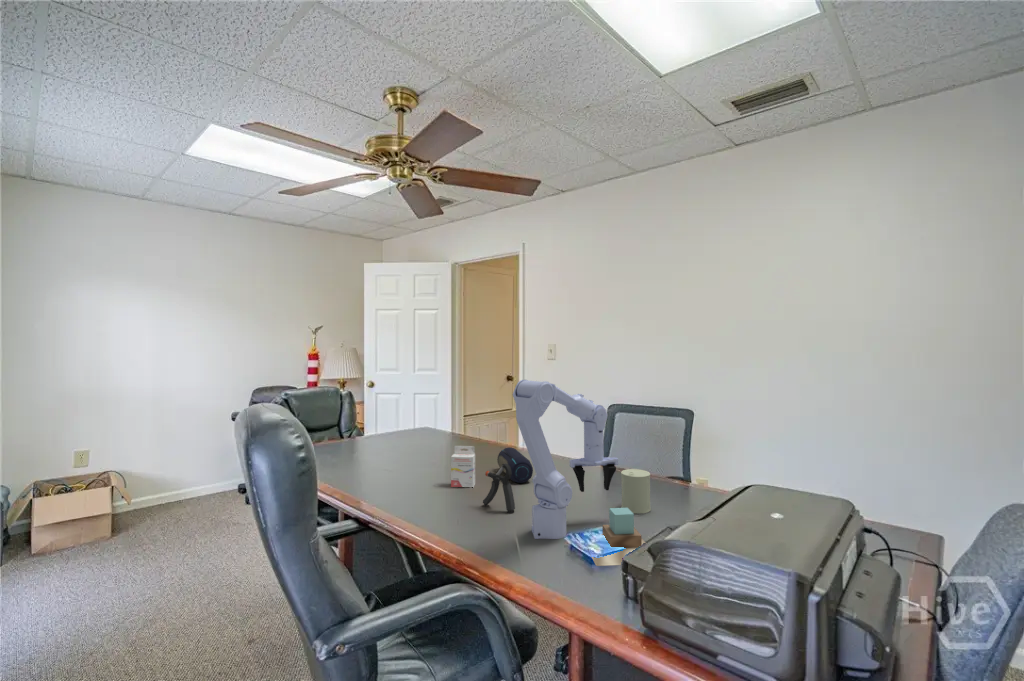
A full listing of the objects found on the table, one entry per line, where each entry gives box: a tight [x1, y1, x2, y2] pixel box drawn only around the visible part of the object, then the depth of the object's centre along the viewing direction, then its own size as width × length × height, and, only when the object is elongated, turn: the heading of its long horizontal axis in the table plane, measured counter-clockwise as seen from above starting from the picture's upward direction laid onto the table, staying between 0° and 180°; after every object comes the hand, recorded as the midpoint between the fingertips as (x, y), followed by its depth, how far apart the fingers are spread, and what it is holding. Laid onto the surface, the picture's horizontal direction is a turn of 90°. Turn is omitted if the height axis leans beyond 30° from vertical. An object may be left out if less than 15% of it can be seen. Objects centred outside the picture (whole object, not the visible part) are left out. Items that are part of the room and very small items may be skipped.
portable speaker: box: [496, 447, 534, 484], centre depth 192 cm, size 25×10×10 cm, turn 14°
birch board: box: [591, 538, 646, 567], centre depth 122 cm, size 16×18×1 cm
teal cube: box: [608, 507, 635, 534], centre depth 126 cm, size 5×5×5 cm
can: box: [620, 468, 652, 515], centre depth 154 cm, size 9×9×12 cm
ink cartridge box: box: [450, 445, 476, 488], centre depth 180 cm, size 9×5×15 cm, turn 84°
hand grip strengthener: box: [482, 463, 516, 514], centre depth 155 cm, size 2×12×15 cm, turn 51°
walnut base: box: [601, 524, 643, 548], centre depth 126 cm, size 8×8×3 cm
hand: (594, 490), depth 143 cm, fingers open, 7 cm apart
